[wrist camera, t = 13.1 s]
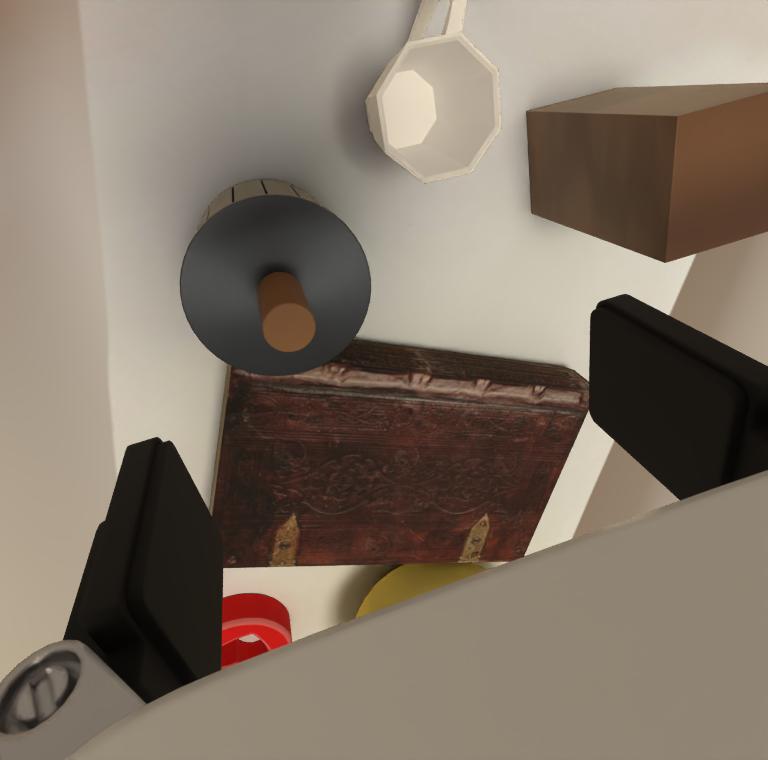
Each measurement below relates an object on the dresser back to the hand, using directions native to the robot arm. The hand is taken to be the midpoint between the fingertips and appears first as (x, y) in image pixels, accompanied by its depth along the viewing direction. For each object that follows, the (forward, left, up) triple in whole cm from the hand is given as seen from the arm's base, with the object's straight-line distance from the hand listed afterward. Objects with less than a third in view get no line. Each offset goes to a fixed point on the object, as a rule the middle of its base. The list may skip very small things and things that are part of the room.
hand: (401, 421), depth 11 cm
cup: (-5, +9, -27) cm, 29 cm away
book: (+21, +3, -27) cm, 35 cm away
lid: (+3, -2, -19) cm, 19 cm away
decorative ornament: (+38, -16, -27) cm, 49 cm away
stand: (+2, +21, -27) cm, 34 cm away
